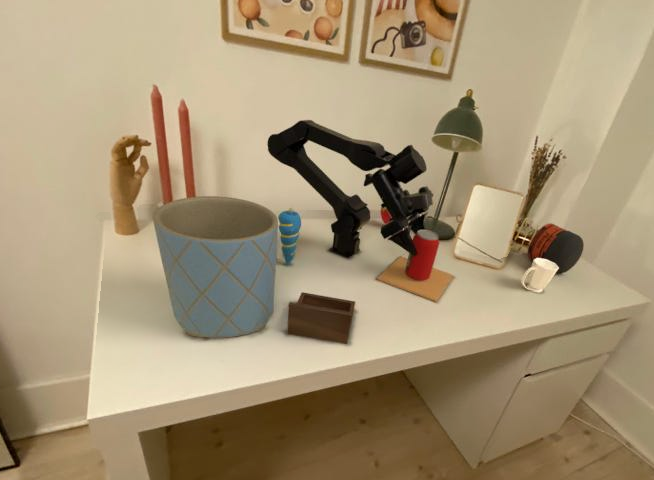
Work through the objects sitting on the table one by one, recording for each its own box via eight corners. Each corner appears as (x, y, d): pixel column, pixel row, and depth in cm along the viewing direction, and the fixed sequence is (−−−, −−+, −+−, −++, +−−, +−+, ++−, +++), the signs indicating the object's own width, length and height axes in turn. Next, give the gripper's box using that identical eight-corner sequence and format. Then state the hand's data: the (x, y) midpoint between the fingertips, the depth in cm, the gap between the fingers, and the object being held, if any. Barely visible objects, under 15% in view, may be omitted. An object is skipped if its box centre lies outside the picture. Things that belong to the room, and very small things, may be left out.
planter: (173, 289, 77) (158, 193, 66) (269, 285, 84) (270, 198, 73) (167, 349, 63) (145, 240, 52) (283, 339, 70) (286, 241, 59)
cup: (552, 294, 106) (564, 269, 102) (526, 297, 102) (538, 271, 97) (534, 281, 111) (546, 257, 107) (509, 283, 107) (520, 258, 102)
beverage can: (414, 267, 103) (424, 226, 97) (434, 278, 100) (446, 236, 93) (399, 273, 99) (409, 231, 92) (419, 285, 96) (431, 242, 89)
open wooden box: (301, 301, 81) (302, 273, 78) (353, 310, 82) (358, 283, 78) (287, 334, 72) (288, 304, 68) (347, 344, 73) (351, 315, 69)
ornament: (273, 264, 92) (274, 205, 84) (285, 257, 96) (287, 200, 88) (291, 271, 91) (293, 212, 83) (302, 263, 95) (306, 206, 87)
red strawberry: (385, 231, 121) (391, 201, 116) (374, 222, 126) (379, 193, 121) (400, 231, 124) (406, 201, 119) (389, 222, 129) (395, 193, 124)
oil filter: (544, 257, 129) (561, 221, 121) (575, 274, 121) (595, 237, 114) (521, 261, 122) (537, 224, 114) (552, 280, 114) (572, 241, 107)
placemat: (377, 279, 95) (377, 277, 95) (400, 258, 108) (400, 256, 108) (436, 302, 91) (436, 300, 91) (452, 276, 104) (453, 274, 104)
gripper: (403, 183, 80) (438, 247, 83) (430, 170, 94) (458, 224, 98) (365, 208, 86) (398, 266, 90) (395, 191, 101) (423, 242, 104)
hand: (422, 248), depth 95 cm, fingers open, 9 cm apart
